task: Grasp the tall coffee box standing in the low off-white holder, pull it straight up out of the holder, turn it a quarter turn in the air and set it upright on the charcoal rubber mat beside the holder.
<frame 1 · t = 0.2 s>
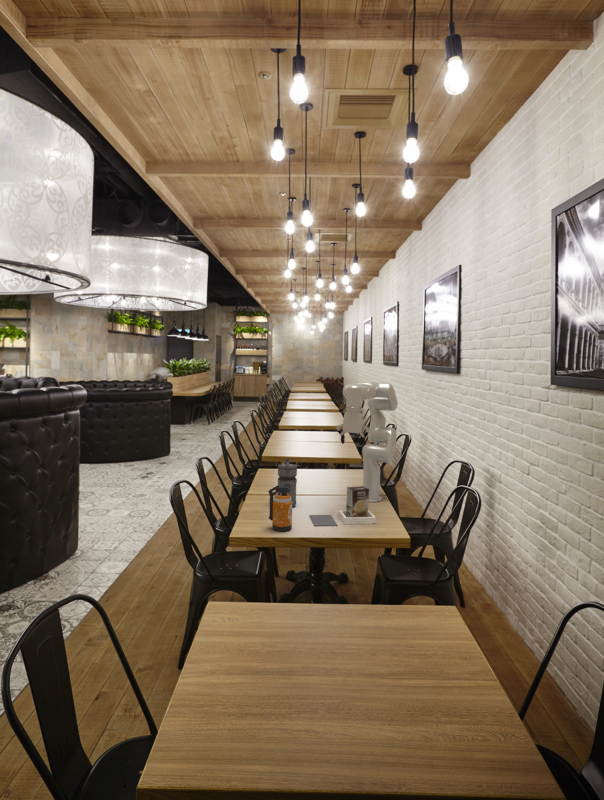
hand: (352, 444, 253), 36 cm above the table, tool pointing down, fingers open, 9 cm apart
beverage bottle: (286, 505, 271), on the table
coffee box: (356, 520, 249), resting in holder
canister: (279, 528, 234), on the table
mat: (322, 520, 247), on the table
holder: (356, 519, 249), on the table
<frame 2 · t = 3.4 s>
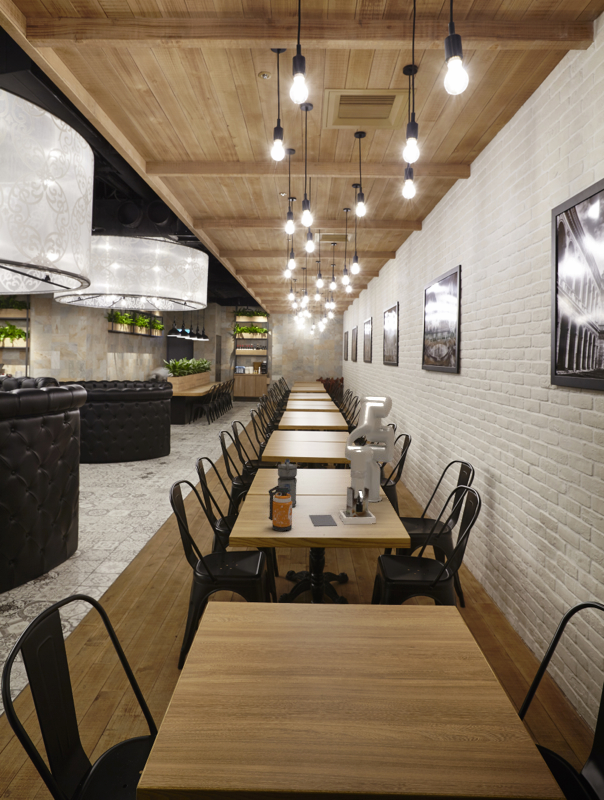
hand: (357, 509, 248), 5 cm above the table, tool pointing down, fingers closed on coffee box, 7 cm apart
coffee box: (356, 520, 249), resting in holder, touching gripper
everything else where it was.
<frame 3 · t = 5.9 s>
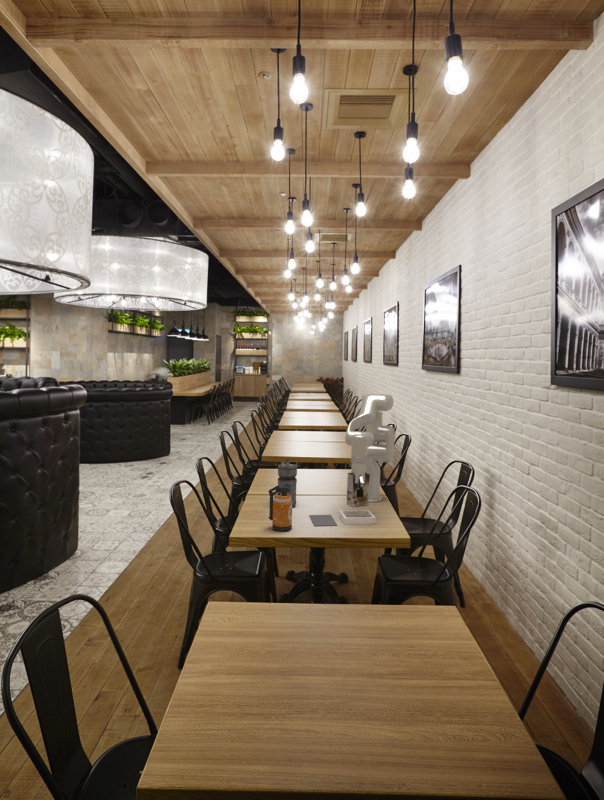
hand: (357, 494, 248), 13 cm above the table, tool pointing down, fingers closed on coffee box, 7 cm apart
coffee box: (357, 505, 249), point 7 cm above the table, touching gripper
everything else where it was.
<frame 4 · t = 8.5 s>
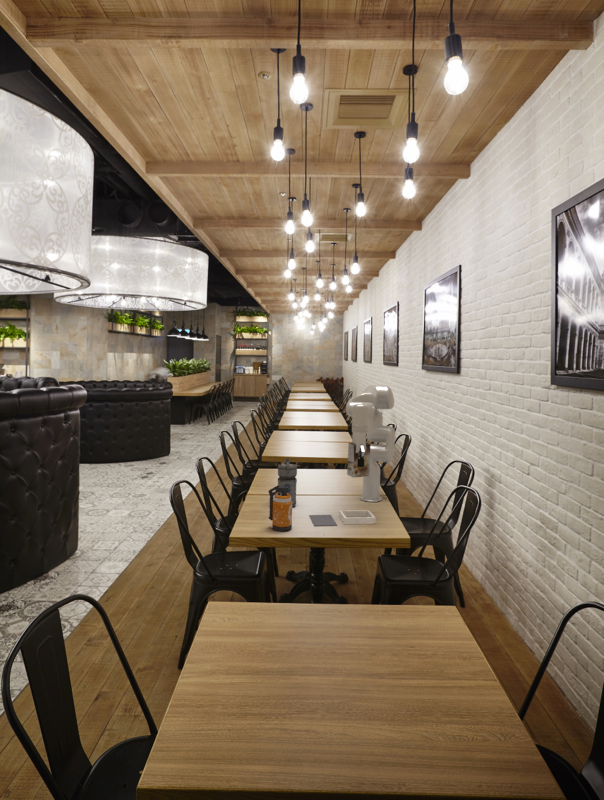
hand: (358, 464, 247), 28 cm above the table, tool pointing down, fingers closed on coffee box, 7 cm apart
coffee box: (358, 476, 247), point 22 cm above the table, touching gripper
everything else where it was.
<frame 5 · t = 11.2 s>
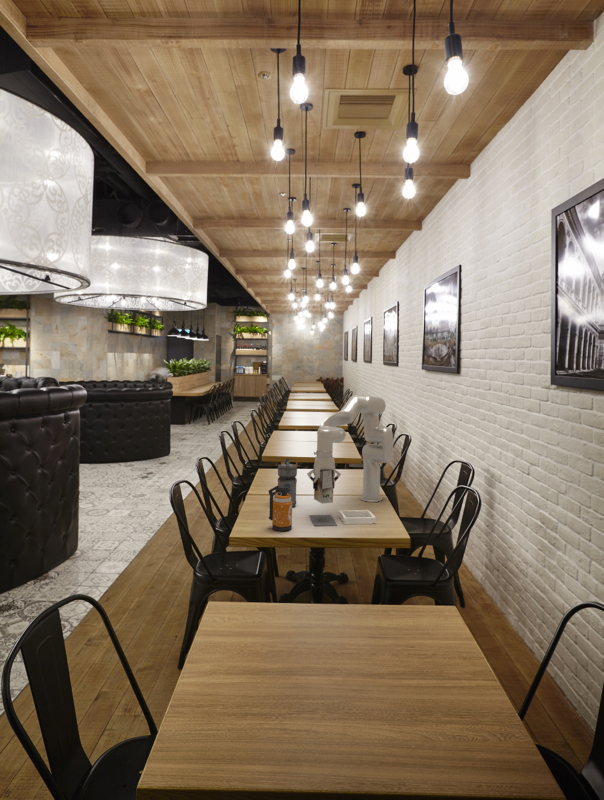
hand: (323, 489, 245), 15 cm above the table, tool pointing down, fingers closed on coffee box, 7 cm apart
coffee box: (323, 501, 246), point 10 cm above the table, touching gripper
everything else where it was.
when the fingers open (7 cm above the table, at t = 13.7 s): coffee box drops 1 cm, resting on mat.
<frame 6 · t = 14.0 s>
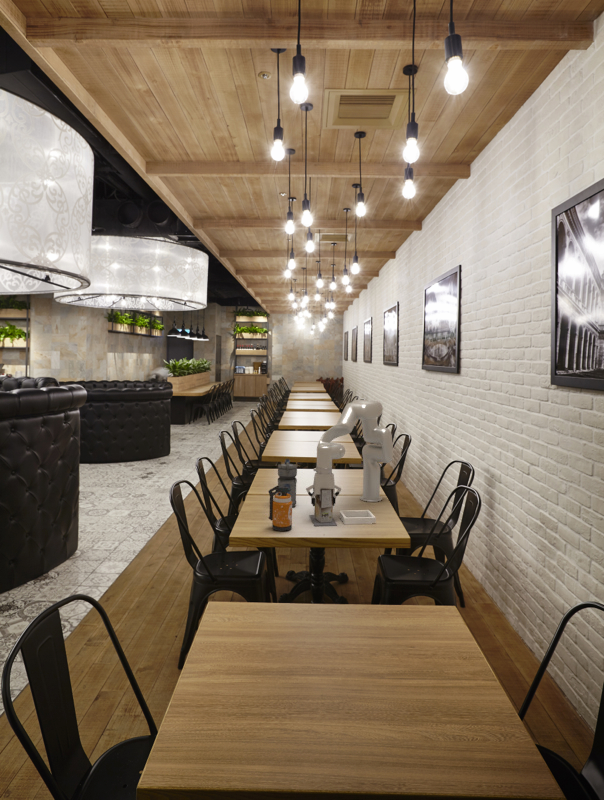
hand: (323, 505, 246), 8 cm above the table, tool pointing down, fingers open, 9 cm apart
coffee box: (322, 520, 247), resting on mat
everything else where it was.
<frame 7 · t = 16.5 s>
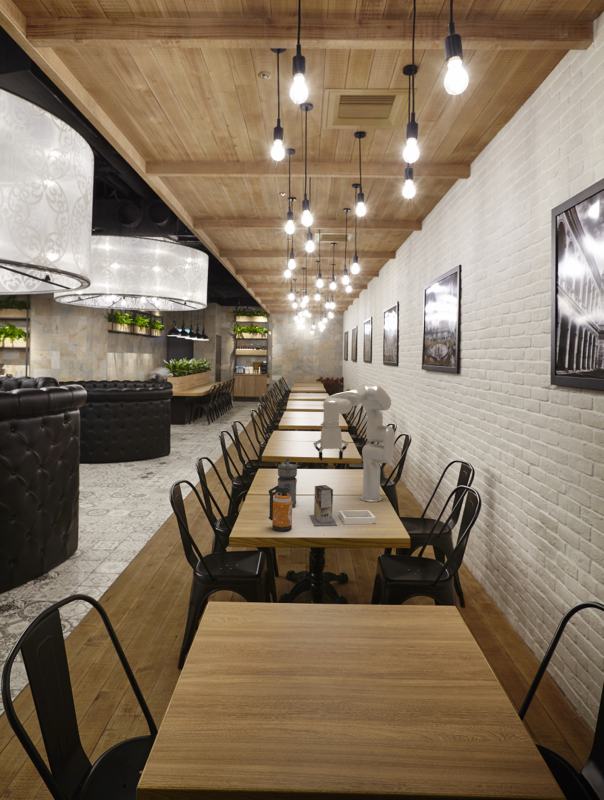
hand: (330, 459, 248), 30 cm above the table, tool pointing down, fingers open, 9 cm apart
nothing on the table moved.
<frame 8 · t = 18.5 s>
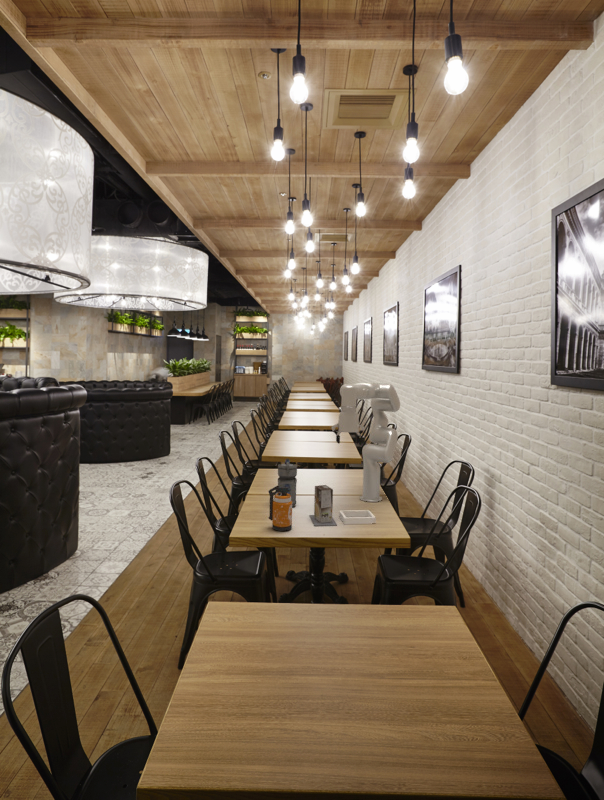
hand: (347, 443, 257), 36 cm above the table, tool pointing down, fingers open, 9 cm apart
nothing on the table moved.
at the end: coffee box inside the target area on the mat (0.2 cm from its centre), point 0.2 cm above the mat's base; coffee box tilted 0°; the gripper is holding nothing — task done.
